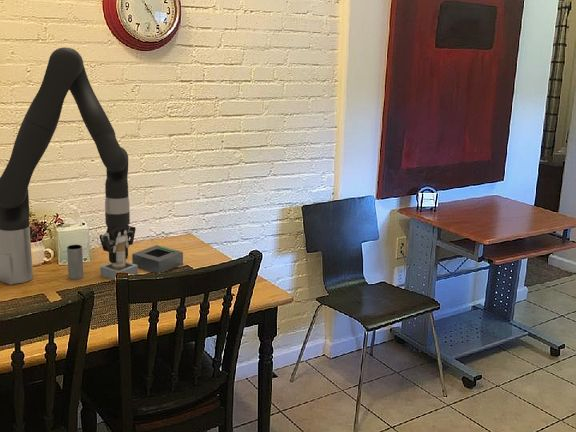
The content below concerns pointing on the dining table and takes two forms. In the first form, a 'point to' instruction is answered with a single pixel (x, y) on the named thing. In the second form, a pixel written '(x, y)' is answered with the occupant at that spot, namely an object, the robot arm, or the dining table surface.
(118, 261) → the sprinkles bottle
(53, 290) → the dining table surface
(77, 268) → the gray cylinder
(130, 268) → the blue-grey square tray
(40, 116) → the robot arm
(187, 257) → the dining table surface
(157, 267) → the port block
